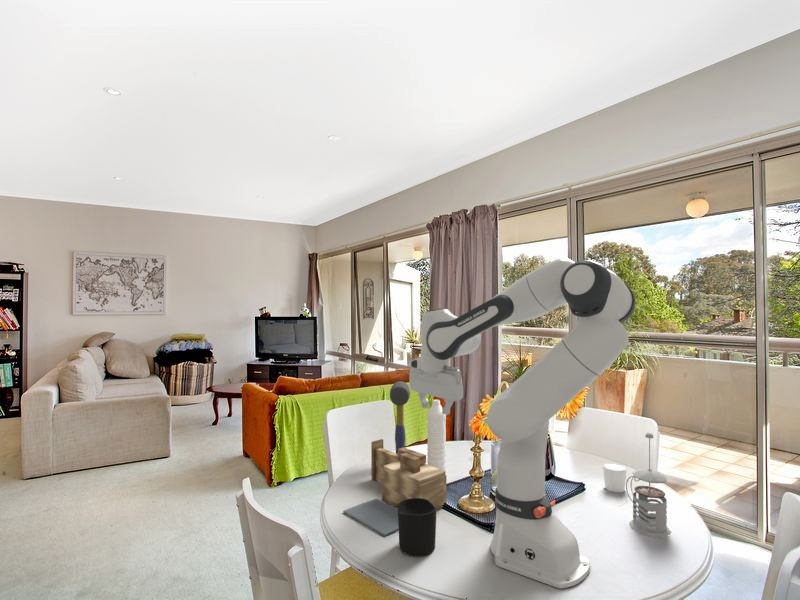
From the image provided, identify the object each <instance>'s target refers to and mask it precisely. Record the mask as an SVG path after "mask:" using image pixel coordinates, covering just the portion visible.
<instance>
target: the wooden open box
mask: <svg viewBox="0 0 800 600" xmlns="http://www.w3.org/2000/svg"><path fill="white" fill-rule="evenodd" d="M410 498H423V499H426V500H428V501H430V502H431V503H432V504H433V505H434V507H435V508H437V511H439V510H442V509H444V508H443V505H444V503H446V504H447V474H445V476H442V477H440V478H437V479H435V480H432V481H429V482H427V483H424V484H422V485H418V484H416V483H413V482H411V481H408V480H406V479H404V478H401V477H399V476H396V475H394V474H392V473H389V472H387V471H384V470H382V482H381V501H383V502H385V503H387V504H389V505H391V506H393V507H395V508H398V505H399V503H400V502H401V501H403V500H406V499H410Z"/></svg>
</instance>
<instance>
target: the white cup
mask: <svg viewBox="0 0 800 600" xmlns="http://www.w3.org/2000/svg"><path fill="white" fill-rule="evenodd" d="M602 469H603V477H604V478H603V479H604V488H605V489H606V490H607V491H609V492H613V493H623V492H625V490H626V481H627V479H626V478H627V467H626V466H625V465H622V464H618V463H614V462H613V463H612V462H611V463H610V462H608V463H604V464H603V465H602Z"/></svg>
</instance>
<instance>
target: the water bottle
mask: <svg viewBox="0 0 800 600" xmlns="http://www.w3.org/2000/svg"><path fill="white" fill-rule="evenodd" d="M426 400H427V402H429V399H428V398H426ZM442 408H443V407H442V404H441V401H440V399H433V401H432V405H431V406H430V407H429V409H428V410H427V418H426V419H427V423H426V425H427V427H426V428H427V435H426V436H427V437H426V438H427V439H426V440H427V442H426V443H427V445H426V446H427V448H426V449H427V454H426V464H427V465H430V466H432V467H435V468H438V469H441V470H444V471H445V472H447V471H446V470H447V463H446V462H447V461H446V460H447V459H446V457H447V455H446V454H447V453H446V451H447V449H446V447H447V445H446V444H447V443H446V440H447V436H446V435H447V434H446V433H447V431H446V425H447V424H446V422H447V421H446V419H447V417H446V416H447V415H445V414H443V413H442Z"/></svg>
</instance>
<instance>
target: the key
mask: <svg viewBox="0 0 800 600" xmlns="http://www.w3.org/2000/svg"><path fill="white" fill-rule="evenodd" d="M404 453H408V454H411V455H414V456H417V457H419V458H420V465H423V464H427V454H424V453H421V452H418V451H415V450H412V449H409V448H406V447H405V446H404V447H403V448H400V449H398V457H399V458H400V454H404Z"/></svg>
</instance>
